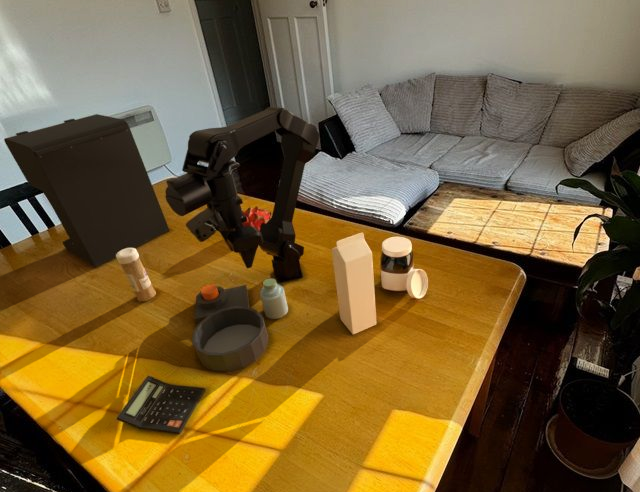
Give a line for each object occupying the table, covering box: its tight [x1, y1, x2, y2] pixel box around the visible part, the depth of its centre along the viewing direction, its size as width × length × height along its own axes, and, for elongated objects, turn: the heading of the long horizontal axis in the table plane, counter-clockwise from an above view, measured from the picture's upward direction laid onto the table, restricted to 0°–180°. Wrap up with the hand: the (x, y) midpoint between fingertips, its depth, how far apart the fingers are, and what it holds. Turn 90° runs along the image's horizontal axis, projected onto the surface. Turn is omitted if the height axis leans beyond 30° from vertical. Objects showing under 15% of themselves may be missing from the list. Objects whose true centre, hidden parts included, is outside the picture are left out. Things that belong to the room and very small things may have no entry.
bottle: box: [259, 277, 289, 320], centre depth 94 cm, size 5×5×9 cm
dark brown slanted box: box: [3, 113, 171, 269], centre depth 121 cm, size 28×20×35 cm
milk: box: [331, 232, 377, 336], centre depth 85 cm, size 6×6×22 cm
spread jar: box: [379, 236, 429, 299], centre depth 97 cm, size 12×11×12 cm
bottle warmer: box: [191, 306, 269, 373], centre depth 86 cm, size 14×14×5 cm
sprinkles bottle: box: [115, 248, 157, 302], centre depth 101 cm, size 5×5×14 cm
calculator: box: [115, 374, 206, 435], centre depth 75 cm, size 9×12×3 cm
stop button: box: [200, 284, 219, 300], centre depth 96 cm, size 4×4×2 cm
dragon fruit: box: [242, 205, 273, 231], centre depth 127 cm, size 8×8×12 cm
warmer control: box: [194, 284, 251, 326], centre depth 97 cm, size 12×9×4 cm
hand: (241, 258), depth 93 cm, fingers open, 9 cm apart
